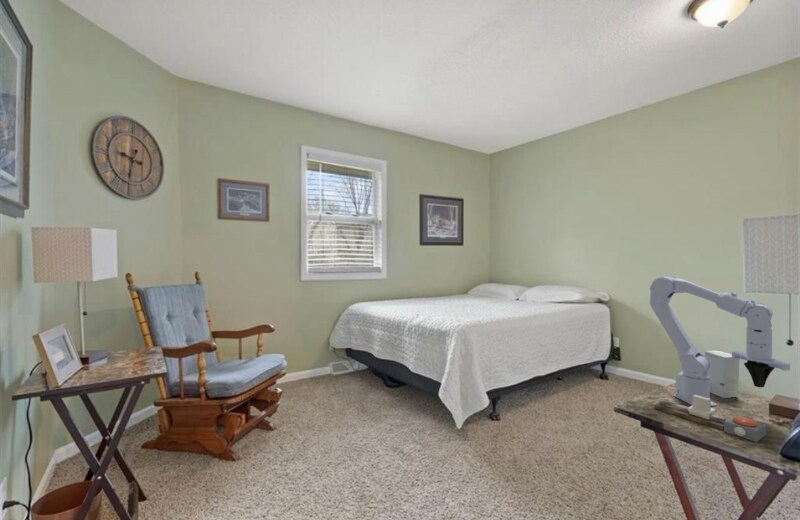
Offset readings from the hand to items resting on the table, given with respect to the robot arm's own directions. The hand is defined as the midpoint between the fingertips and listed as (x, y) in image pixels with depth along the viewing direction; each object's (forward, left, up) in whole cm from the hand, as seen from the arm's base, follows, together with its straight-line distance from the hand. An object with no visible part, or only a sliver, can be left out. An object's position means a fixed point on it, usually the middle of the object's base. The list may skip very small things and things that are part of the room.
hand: (759, 386), depth 115 cm
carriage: (+1, -19, -8) cm, 21 cm away
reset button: (+10, -14, -9) cm, 19 cm away
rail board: (-2, -20, -9) cm, 23 cm away
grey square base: (+10, -14, -9) cm, 20 cm away
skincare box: (-18, +4, -10) cm, 21 cm away
